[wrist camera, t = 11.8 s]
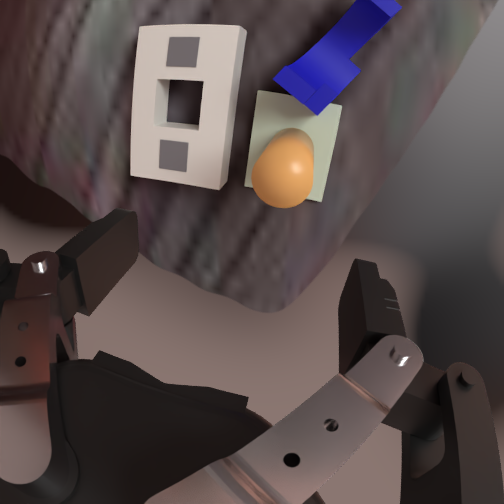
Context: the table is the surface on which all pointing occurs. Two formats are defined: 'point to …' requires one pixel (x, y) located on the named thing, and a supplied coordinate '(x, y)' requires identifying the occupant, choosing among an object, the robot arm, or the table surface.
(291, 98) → the mat
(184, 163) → the white slab with hole
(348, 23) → the cable clip
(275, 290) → the table surface
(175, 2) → the table surface
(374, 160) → the table surface
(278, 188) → the plug
